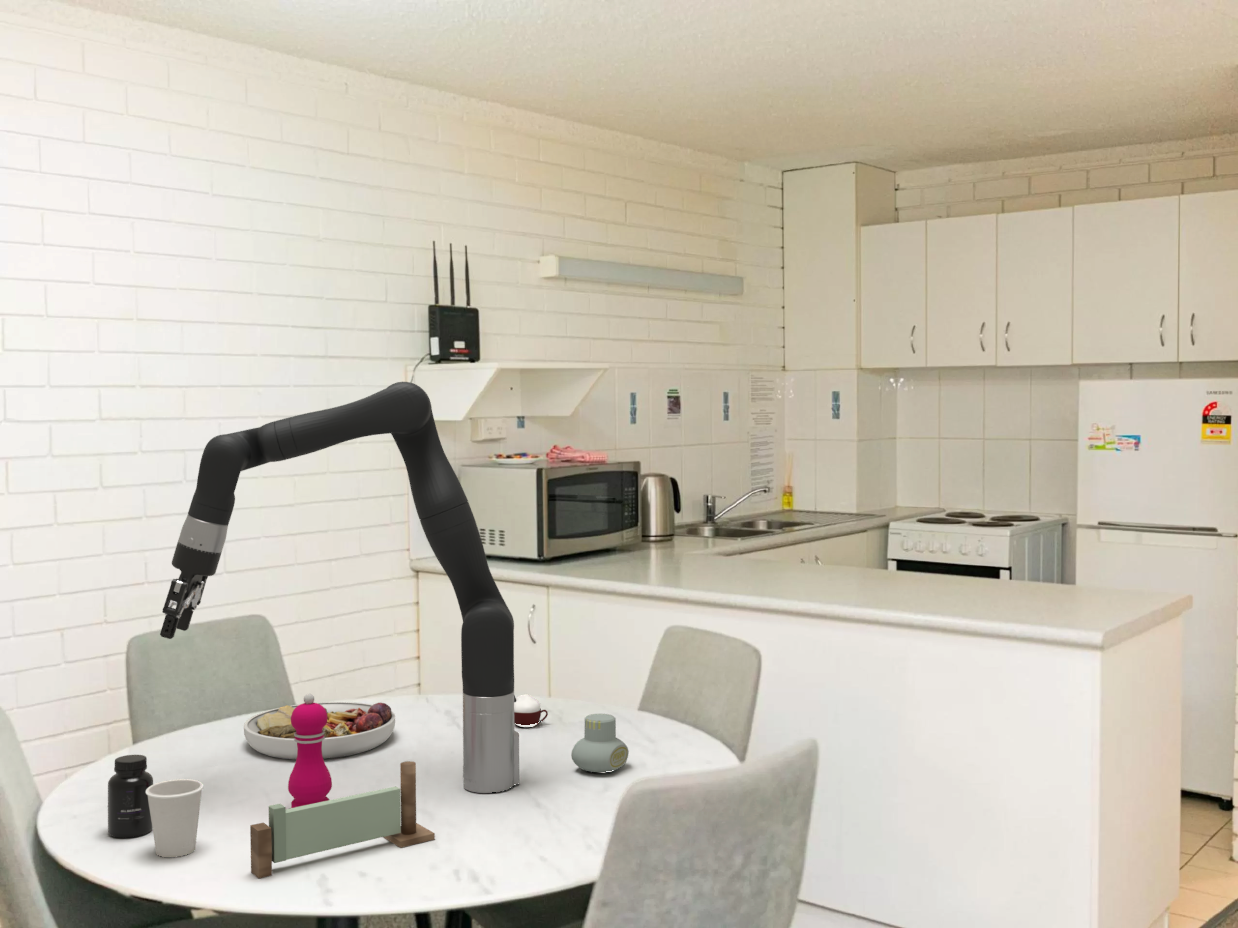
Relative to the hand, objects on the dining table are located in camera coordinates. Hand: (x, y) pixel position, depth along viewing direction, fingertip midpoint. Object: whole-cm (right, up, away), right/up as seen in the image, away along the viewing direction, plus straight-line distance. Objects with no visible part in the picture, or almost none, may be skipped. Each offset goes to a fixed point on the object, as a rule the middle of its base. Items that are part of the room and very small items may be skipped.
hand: (173, 633), depth 211 cm
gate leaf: (+35, -29, -27) cm, 52 cm away
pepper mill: (+25, -29, -6) cm, 39 cm away
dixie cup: (+9, -30, -25) cm, 40 cm away
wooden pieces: (+36, -30, -26) cm, 53 cm away
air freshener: (+74, -28, +18) cm, 81 cm away
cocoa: (+57, -27, +49) cm, 80 cm away
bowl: (+17, -28, +37) cm, 49 cm away
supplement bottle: (-1, -30, -16) cm, 34 cm away
